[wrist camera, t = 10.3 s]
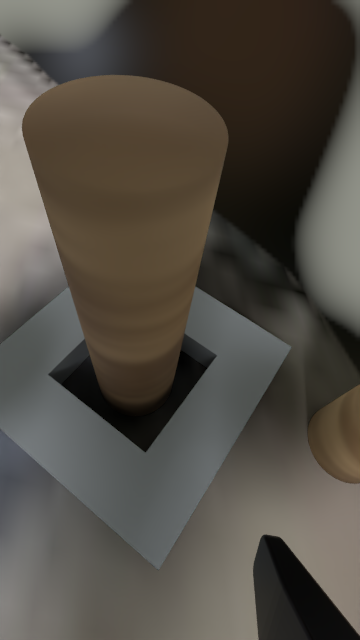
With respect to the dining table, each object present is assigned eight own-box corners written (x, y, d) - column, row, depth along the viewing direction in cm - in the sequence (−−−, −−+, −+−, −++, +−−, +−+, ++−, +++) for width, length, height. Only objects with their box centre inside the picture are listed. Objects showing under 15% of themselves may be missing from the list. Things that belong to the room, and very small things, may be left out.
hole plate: (279, 362, 20) (291, 347, 18) (156, 564, 14) (158, 570, 13) (124, 261, 23) (122, 240, 21) (-30, 398, 17) (-49, 385, 15)
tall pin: (185, 395, 18) (267, 161, 6) (117, 429, 17) (63, 216, 5) (153, 337, 20) (171, 65, 8) (88, 364, 19) (-2, 89, 7)
